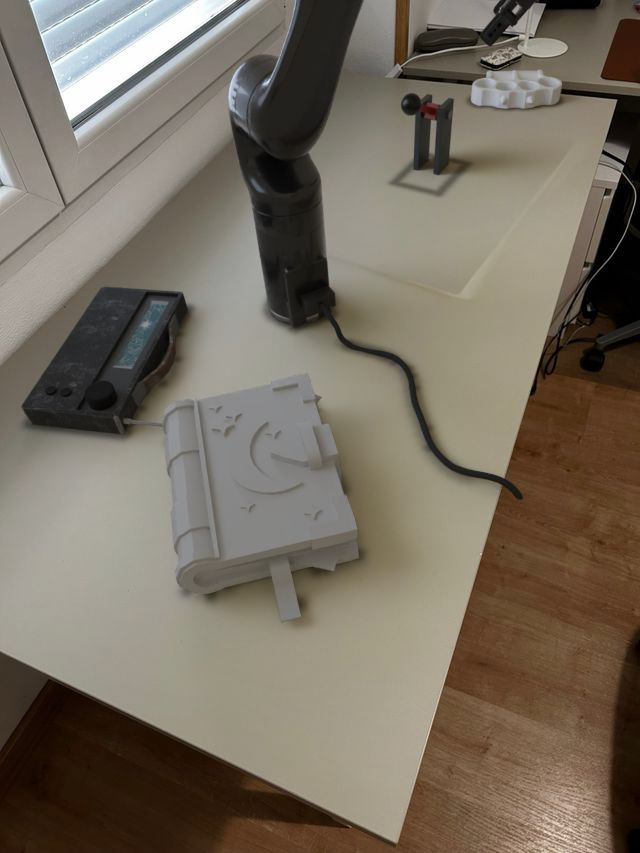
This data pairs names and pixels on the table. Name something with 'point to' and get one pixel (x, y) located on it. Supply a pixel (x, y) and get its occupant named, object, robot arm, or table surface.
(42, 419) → the radio
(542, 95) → the white muffin tray
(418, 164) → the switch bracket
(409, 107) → the lever
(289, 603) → the book
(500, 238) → the table surface
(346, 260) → the table surface
